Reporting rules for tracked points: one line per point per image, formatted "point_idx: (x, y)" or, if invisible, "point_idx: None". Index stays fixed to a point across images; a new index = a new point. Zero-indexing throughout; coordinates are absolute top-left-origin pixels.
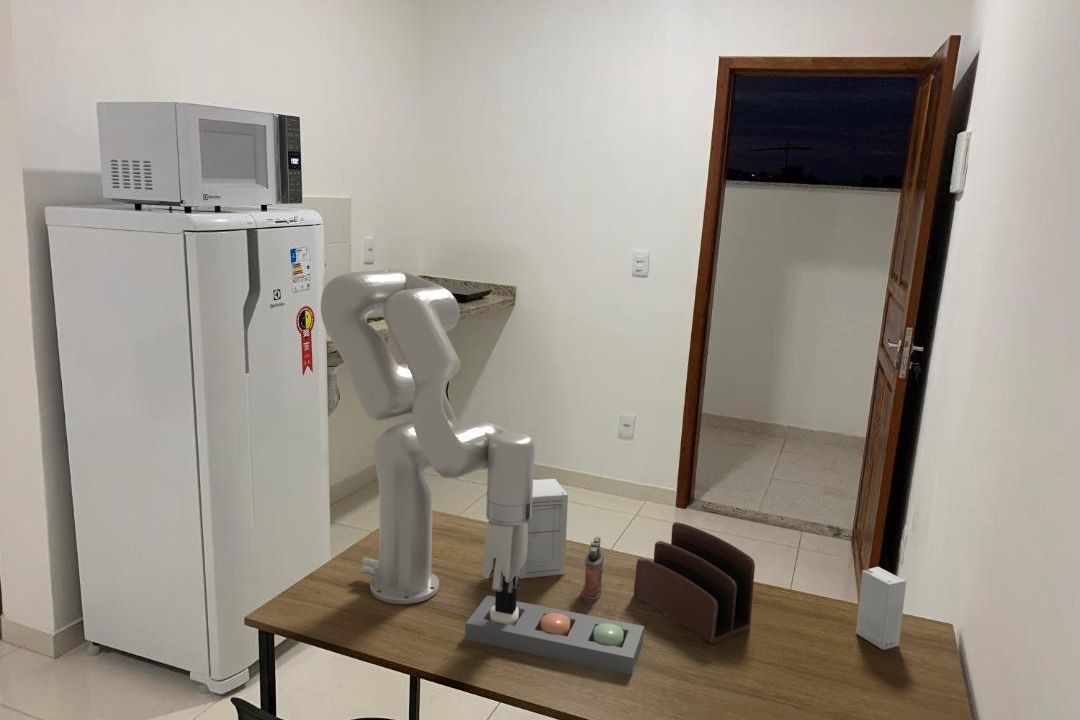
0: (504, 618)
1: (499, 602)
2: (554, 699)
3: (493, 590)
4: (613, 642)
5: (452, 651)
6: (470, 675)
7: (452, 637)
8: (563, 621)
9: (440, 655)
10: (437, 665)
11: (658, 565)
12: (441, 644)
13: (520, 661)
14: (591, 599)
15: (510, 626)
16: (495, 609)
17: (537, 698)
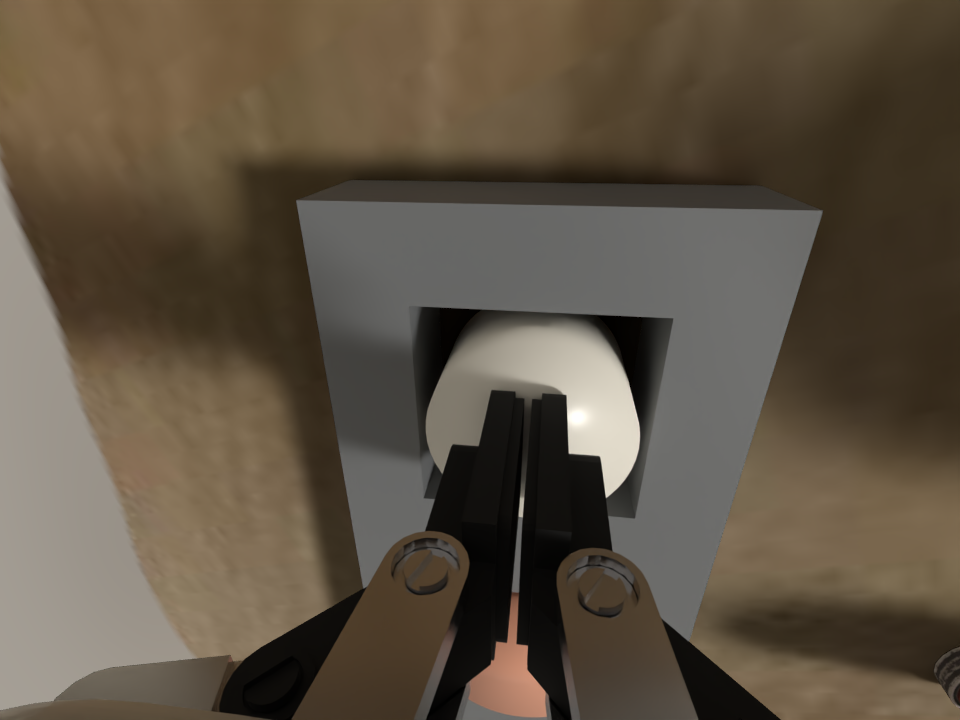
0: (433, 455)
1: (442, 482)
2: (190, 599)
3: (93, 680)
4: None
5: (204, 154)
6: (104, 324)
7: (334, 81)
8: (523, 697)
9: (128, 97)
10: (46, 127)
11: None
12: (224, 41)
13: (318, 483)
14: (945, 685)
15: (405, 480)
16: (492, 393)
17: (161, 561)
